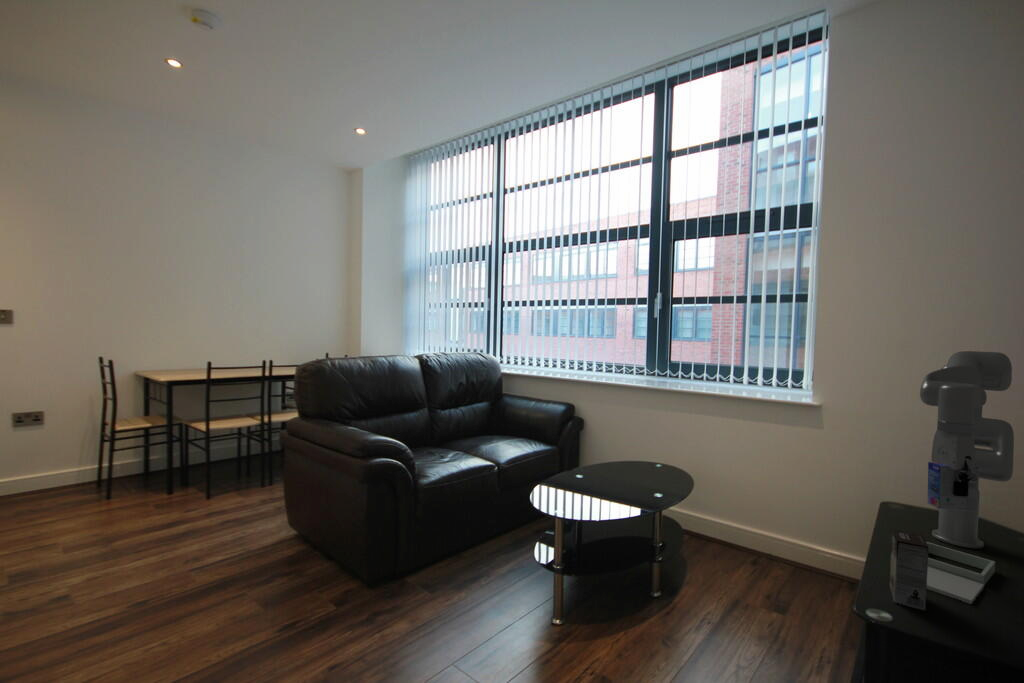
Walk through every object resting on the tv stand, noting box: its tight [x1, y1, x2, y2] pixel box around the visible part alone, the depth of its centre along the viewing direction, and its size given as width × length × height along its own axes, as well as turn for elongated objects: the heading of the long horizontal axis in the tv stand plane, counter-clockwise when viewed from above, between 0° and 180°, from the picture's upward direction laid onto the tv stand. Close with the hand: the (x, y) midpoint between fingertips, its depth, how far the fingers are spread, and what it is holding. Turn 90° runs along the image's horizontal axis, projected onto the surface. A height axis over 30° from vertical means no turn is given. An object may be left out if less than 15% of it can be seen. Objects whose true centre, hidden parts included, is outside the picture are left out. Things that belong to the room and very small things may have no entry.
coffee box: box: [889, 528, 929, 611], centre depth 121 cm, size 9×6×16 cm
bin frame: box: [926, 541, 996, 586], centre depth 139 cm, size 15×16×3 cm
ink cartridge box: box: [927, 461, 980, 512], centre depth 134 cm, size 10×6×14 cm, turn 82°
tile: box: [926, 567, 985, 605], centre depth 129 cm, size 14×14×1 cm
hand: (952, 491), depth 134 cm, fingers closed on ink cartridge box, 5 cm apart
